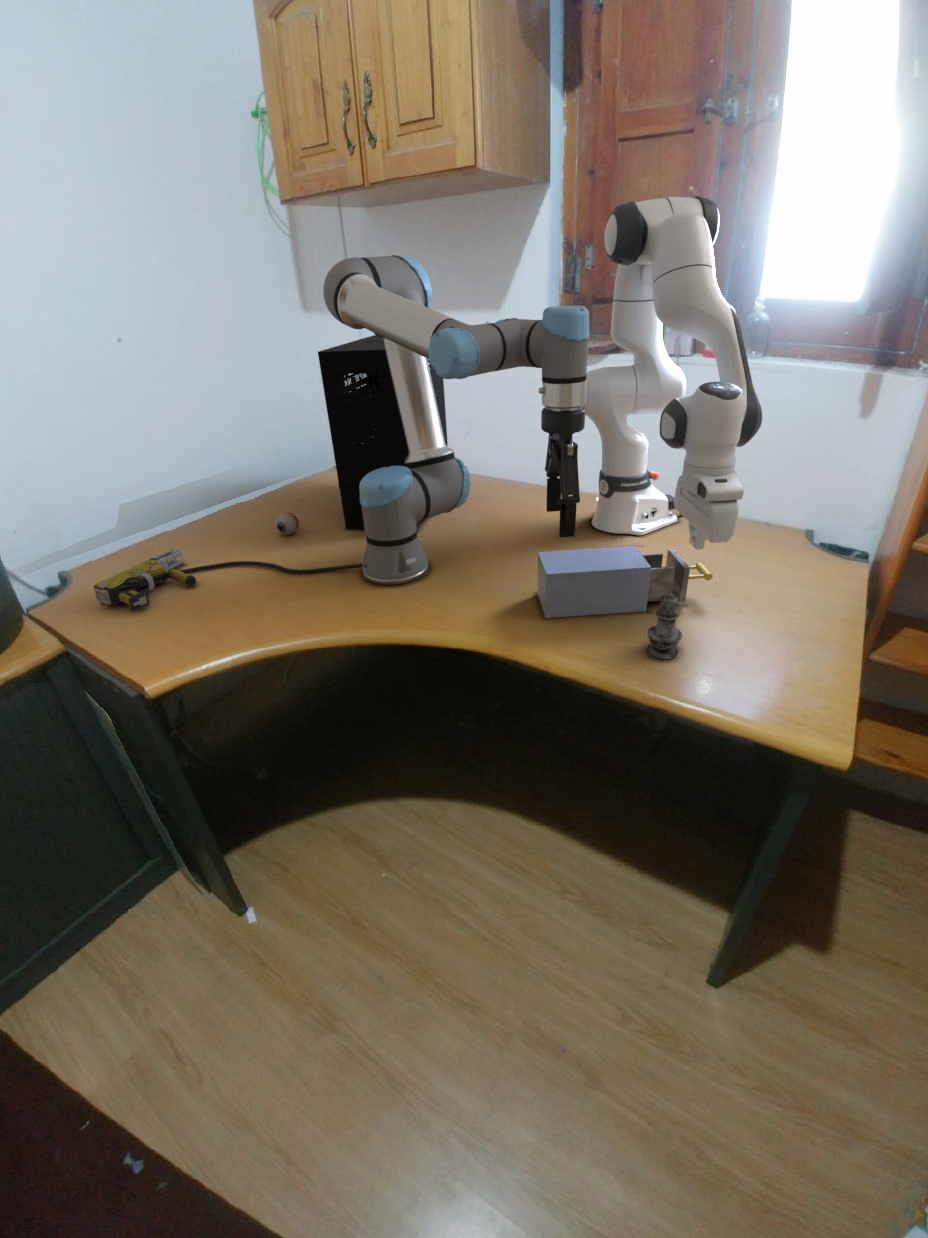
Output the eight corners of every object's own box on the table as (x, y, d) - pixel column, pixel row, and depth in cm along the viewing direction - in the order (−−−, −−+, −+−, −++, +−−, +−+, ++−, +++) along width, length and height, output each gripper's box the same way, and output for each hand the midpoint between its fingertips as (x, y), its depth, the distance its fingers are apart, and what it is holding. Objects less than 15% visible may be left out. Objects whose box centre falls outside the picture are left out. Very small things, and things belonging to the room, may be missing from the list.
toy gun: (219, 557, 146) (169, 546, 150) (142, 598, 126) (87, 585, 129) (222, 574, 148) (172, 563, 152) (147, 618, 128) (92, 604, 132)
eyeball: (273, 537, 164) (268, 516, 161) (287, 528, 169) (282, 508, 166) (291, 539, 161) (286, 518, 158) (305, 530, 166) (301, 510, 163)
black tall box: (415, 531, 162) (398, 349, 139) (345, 528, 166) (317, 351, 144) (450, 487, 193) (440, 332, 171) (390, 485, 198) (373, 335, 175)
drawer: (695, 580, 127) (700, 546, 124) (713, 600, 120) (719, 565, 116) (580, 588, 127) (582, 554, 123) (591, 609, 119) (593, 574, 115)
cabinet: (631, 587, 128) (635, 545, 123) (646, 611, 119) (651, 567, 114) (537, 594, 128) (537, 552, 123) (545, 618, 119) (546, 574, 114)
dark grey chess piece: (681, 660, 104) (691, 599, 98) (646, 658, 105) (653, 597, 99) (678, 642, 108) (687, 583, 102) (644, 640, 110) (651, 581, 104)
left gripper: (531, 395, 115) (530, 502, 125) (554, 423, 93) (551, 550, 104) (570, 392, 115) (566, 500, 125) (603, 420, 93) (595, 547, 104)
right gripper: (670, 463, 120) (662, 528, 127) (712, 495, 103) (700, 569, 110) (701, 461, 120) (692, 526, 127) (748, 493, 103) (734, 567, 110)
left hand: (559, 523), depth 114 cm, fingers open, 13 cm apart
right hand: (696, 546), depth 118 cm, fingers closed
